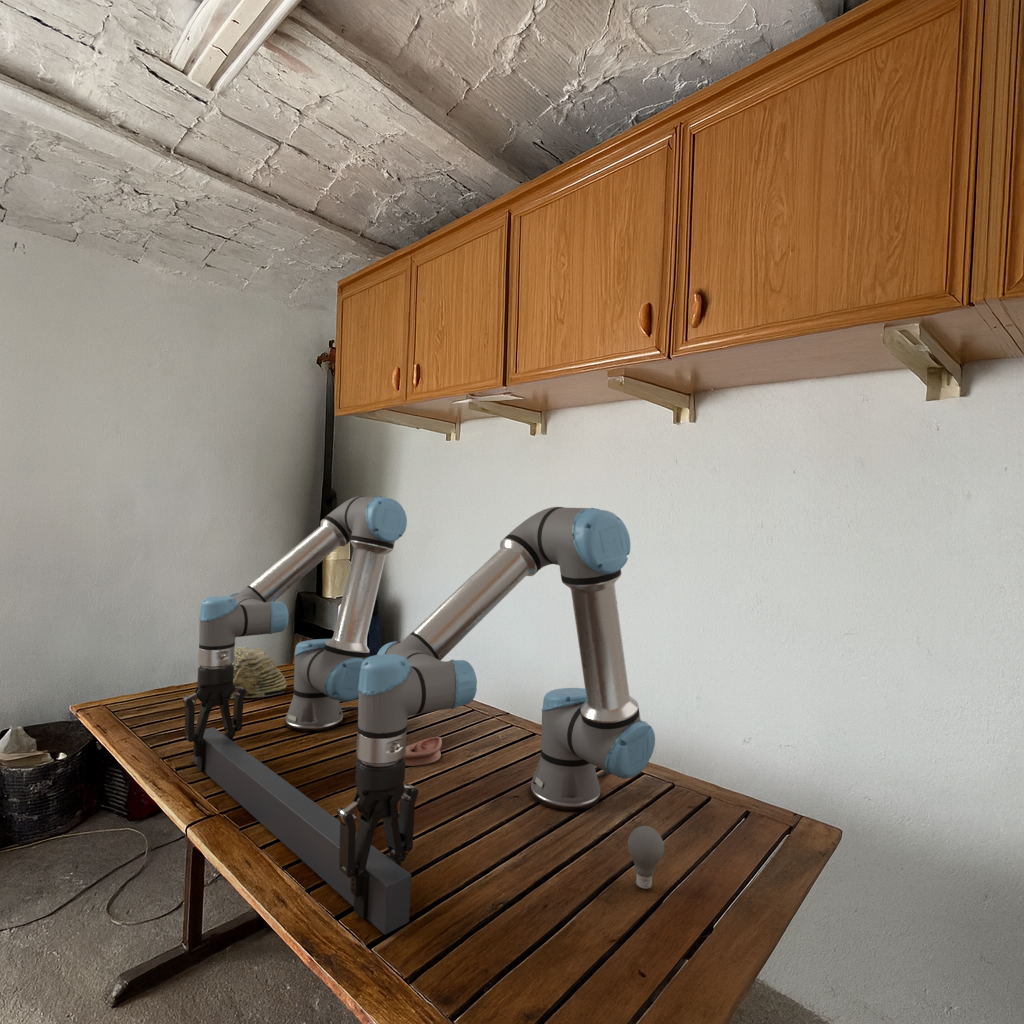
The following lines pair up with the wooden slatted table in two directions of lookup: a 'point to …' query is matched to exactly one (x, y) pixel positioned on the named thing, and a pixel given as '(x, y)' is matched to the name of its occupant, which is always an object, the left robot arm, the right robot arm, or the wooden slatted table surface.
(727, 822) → the wooden slatted table surface
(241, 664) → the fossil
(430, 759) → the anatomical model
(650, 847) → the light bulb
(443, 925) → the wooden slatted table surface
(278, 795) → the post
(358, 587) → the left robot arm
